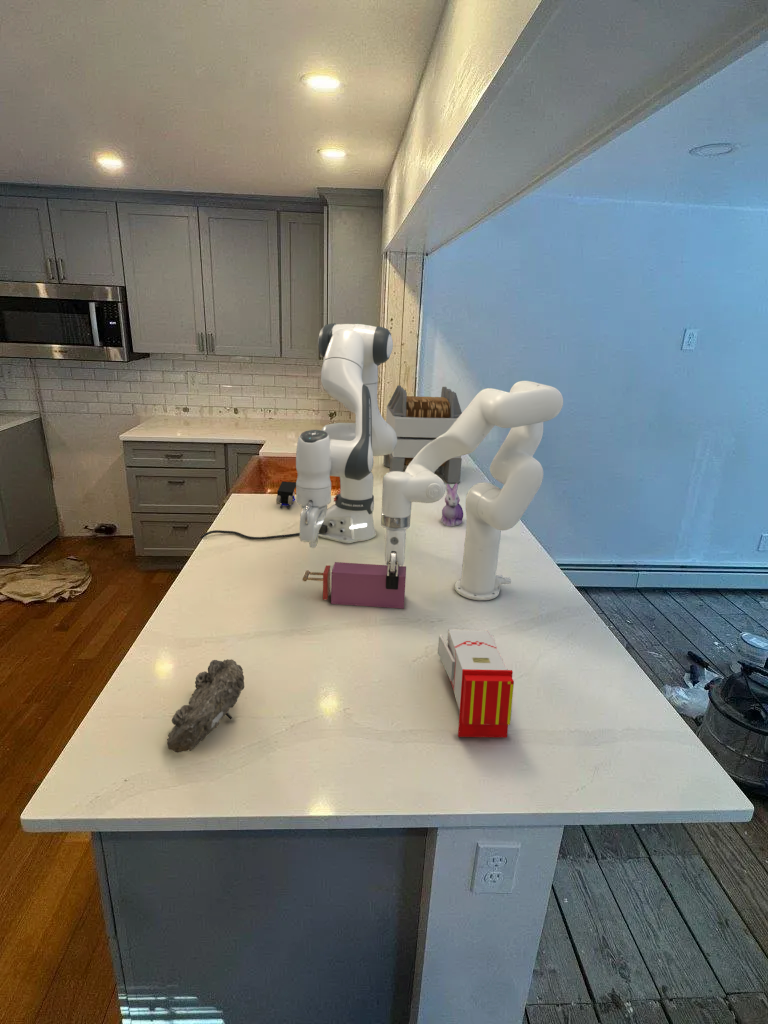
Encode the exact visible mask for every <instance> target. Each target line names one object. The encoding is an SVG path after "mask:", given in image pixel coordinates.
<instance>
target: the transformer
mask: <svg viewBox="0 0 768 1024" xmlns="http://www.w3.org/2000/svg"><path fill="white" fill-rule="evenodd" d="M440 393H441V394H440V396H415V395H414V396H413V395H412V396H411V395H407V394H408V393H407V390H406V389H404V388H403V387H402V385H399V384H398V385H397V386H396V388H395V390H394V392H393V394H392V395H391V398H390V400H389V402H388V404H387V405H386V413H385V414H386V415H385V421H386V422H387V423H388V424H389V425H390V426H391V427H392V428H393V429H394V430H395V432H396V435H397V444H396V447H395V449H394V451H393V452H392V453H391V454H387V455H383V466H384V467H388V468H389V472H392V471H401V472H404V469H405V466H406V467H407V466H408V465H409V464H410V462H411V461H412V460H413V459H414V457H415V456H416V455H417V454H418V452H419V451H420V450H421V449H422V448H423V447H425V446H426V445H427V444H429V443H430V442H432V441H433V440H435V439H436V438H437V437H439V436H441V435H442V434H444V433H445V432H447V431H448V430H449V428H450V427H451V426H452V425H453V424H454V422H455V421H456V420H457V419H458V417H459V416H460V415H461V414H462V412H463V411H462V408H461V405H460V402H459V398H458V395H457V392H455V391H453V390H452V389H451V388H447V386H442V387H441V392H440ZM462 461H463V460H462V456H457V457H454V458H451V459H449V460H447V461H446V462H444V463H443V464H442V465H441V466H439V467H438V469H439V473H440V474H441V475H443V478H444V479H445V481H446V482H447V484H456V483H457V484H459V483H461V472H462ZM438 469H437V470H438Z"/></svg>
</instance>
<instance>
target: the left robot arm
mask: <svg viewBox="0 0 768 1024" xmlns="http://www.w3.org/2000/svg"><path fill="white" fill-rule="evenodd" d="M317 346H318V351H319V353H320V355H321V356H322V358H323V361H322V366H321V371H320V383H321V386H322V388H323V390H324V391H325V392H326V393H327V394H328V396H329V397H331V398H332V399H334V400H336V401H337V402H339V403H341V404H342V405H343V406H344V408H345V409H346V410H347V411H349V412H350V413H352V414H354V415H355V417H354V418H355V422H334V423H330V424H329V423H328V424H325V425H323V427H321V429H309V430H305V431H303V432H301V433H300V434H299V435H298V438H297V444H296V449H295V451H296V452H295V469H296V473H297V477H296V481H295V482H296V487H295V490H296V491H295V501H296V504H298V505H300V508H301V509H302V510H301V512H300V517H299V519H300V520H299V532H296V533H287V534H277V535H269V536H268V535H267V536H250V535H246V534H243V533H241V532H238V531H233V530H221V529H217V530H209V531H207V532H205V533H203V534H202V535H201V536H200V537H199V539H204V538H205V537H206V536H208V535H211V534H230V535H231V534H233V535H237V536H239V537H241V538H245V539H248V540H257V541H259V540H271V539H280V538H291V537H297V536H299V540H300V543H308V546H309V548H311V549H315V548H316V547H317V545H318V543H319V538H323V539H326V540H330V541H336V542H339V543H343V544H352V543H357V542H365V541H368V540H372V539H373V538H375V537H376V535H377V532H376V528H375V523H374V513H373V512H374V509H375V496H374V474H373V472H372V471H373V467H374V457H382V456H384V455H387V454H391V453H392V452H393V451H394V449H395V447H396V444H397V435H396V432H395V430H394V429H393V428H392V427H391V426H390V425H389V424H388V423H387V422H386V419H384V417H383V416H382V414H381V412H380V408H379V402H378V401H379V400H378V385H379V384H378V383H379V382H378V381H379V377H378V376H379V371H378V369H379V368H378V367H379V366H381V364H385V363H386V362H388V360H389V359H390V356H392V355H391V354H392V352H393V347H394V342H393V338H392V333H391V332H390V330H389V329H388V328H386V327H383V326H380V325H378V326H374V325H369V324H363V323H338V324H337V323H335V322H333V323H328V324H325V325H324V326H323V327H322V328H321V329H320V330H319V334H318V338H317ZM331 477H339V483H340V484H339V485H340V488H339V489H340V490H339V491H338V492H337V494H336V495H335V496H334V497H333V502H334V504H333V505H331V506H329V507H328V505H329V504H331V502H332V481H331Z"/></svg>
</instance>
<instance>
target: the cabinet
mask: <svg viewBox="0 0 768 1024" xmlns="http://www.w3.org/2000/svg"><path fill="white" fill-rule="evenodd" d="M395 569H396V566H395ZM387 570H388V565H386V564H373V563H372V564H371V563H356V562H340V561H334V564H333V566H332V570H331V571H330V596H331V597H330V605H340V606H356V607H357V606H358V607H374V608H385V609H387V608H389V609H405V597H406V581H407V566H406V565H403V566H398V575H399V579H398V589H397V590H394V589H386V574H387Z"/></svg>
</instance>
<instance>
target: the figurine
mask: <svg viewBox="0 0 768 1024" xmlns="http://www.w3.org/2000/svg"><path fill="white" fill-rule="evenodd" d="M445 489H446V495H445V497H444V502H445V505H444V506H443V507H442V510H441V519H440V522H441V523H442V524H443V525H444V526H447V527H454V526H459V525H461V524H462V523H463V519H464V511H463V508H462V505H461V504H460V501H461V499H460V496H459V494H458V489H459V483H454V485H453V487H451V485H450V483H447V484H445Z"/></svg>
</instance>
